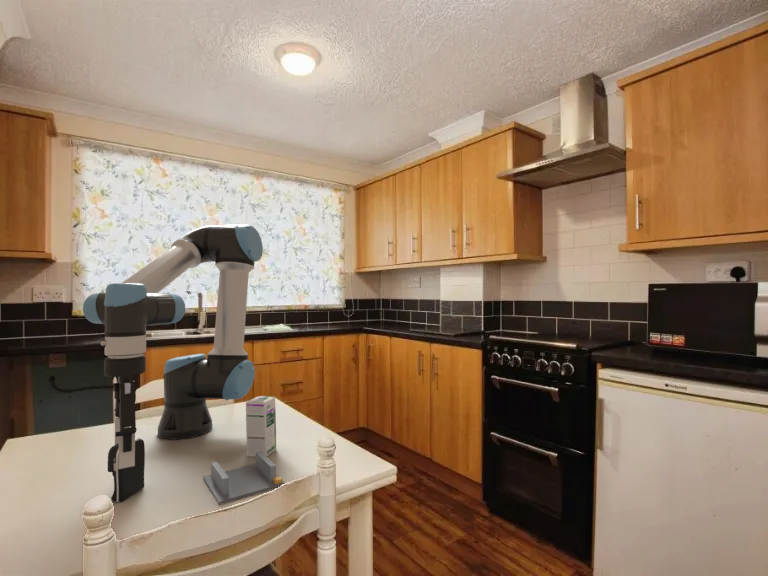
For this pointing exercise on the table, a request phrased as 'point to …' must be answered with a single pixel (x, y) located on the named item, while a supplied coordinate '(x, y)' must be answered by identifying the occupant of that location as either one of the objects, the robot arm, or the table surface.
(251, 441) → the syrup box
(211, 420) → the robot arm
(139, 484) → the battery
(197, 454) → the table surface
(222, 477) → the dock
